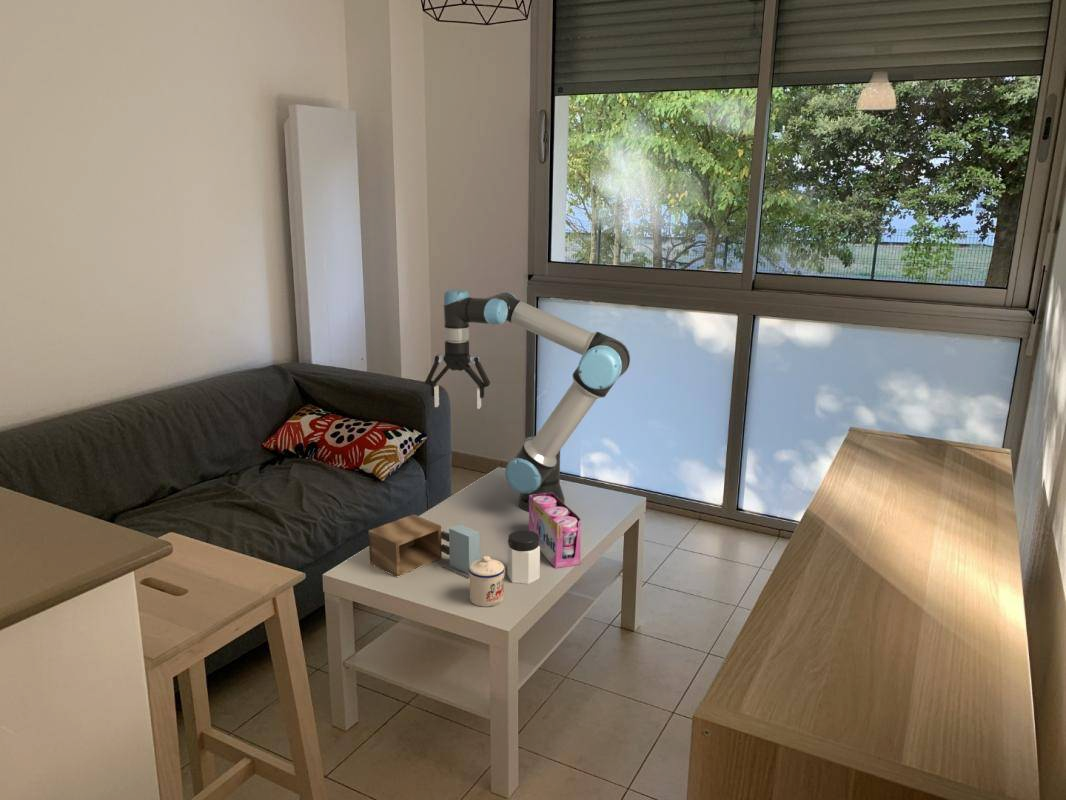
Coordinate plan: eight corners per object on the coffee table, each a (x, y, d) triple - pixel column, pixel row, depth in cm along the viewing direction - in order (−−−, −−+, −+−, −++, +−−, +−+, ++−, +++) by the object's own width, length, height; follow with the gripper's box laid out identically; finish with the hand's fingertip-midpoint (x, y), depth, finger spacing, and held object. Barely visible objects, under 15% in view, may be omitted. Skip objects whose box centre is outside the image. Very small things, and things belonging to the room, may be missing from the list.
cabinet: (423, 542, 244) (422, 510, 241) (486, 570, 226) (486, 536, 224) (369, 563, 230) (368, 530, 227) (432, 595, 212) (431, 559, 210)
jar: (523, 566, 229) (523, 526, 225) (545, 576, 223) (546, 535, 220) (501, 578, 222) (500, 536, 219) (523, 587, 217) (523, 545, 214)
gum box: (583, 567, 229) (584, 521, 225) (556, 571, 226) (557, 525, 223) (552, 533, 251) (553, 491, 247) (527, 536, 248) (528, 494, 245)
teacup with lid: (490, 611, 205) (490, 568, 202) (461, 601, 210) (461, 559, 207) (518, 592, 214) (518, 551, 211) (489, 583, 219) (489, 542, 216)
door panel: (449, 565, 228) (449, 528, 226) (460, 560, 231) (459, 524, 228) (469, 574, 223) (468, 536, 220) (480, 569, 226) (479, 532, 223)
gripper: (498, 339, 256) (499, 405, 261) (420, 337, 259) (422, 402, 264) (494, 344, 249) (495, 411, 254) (414, 341, 252) (416, 408, 257)
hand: (457, 407), depth 259 cm, fingers open, 13 cm apart
